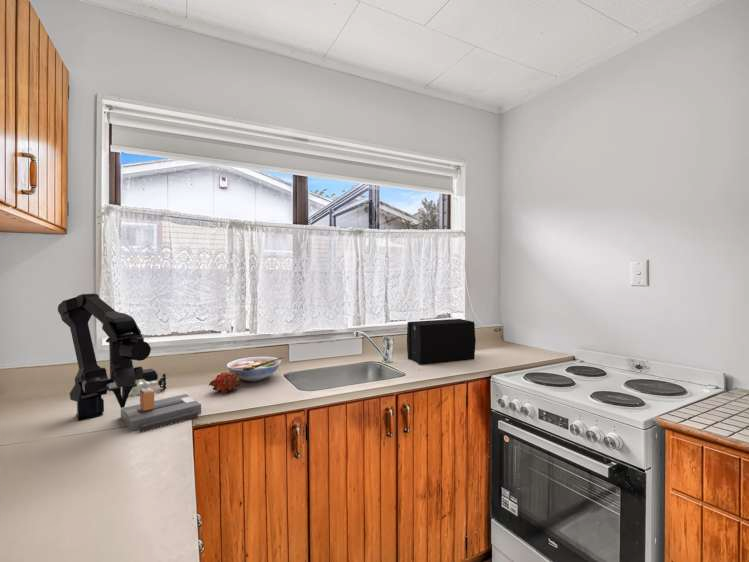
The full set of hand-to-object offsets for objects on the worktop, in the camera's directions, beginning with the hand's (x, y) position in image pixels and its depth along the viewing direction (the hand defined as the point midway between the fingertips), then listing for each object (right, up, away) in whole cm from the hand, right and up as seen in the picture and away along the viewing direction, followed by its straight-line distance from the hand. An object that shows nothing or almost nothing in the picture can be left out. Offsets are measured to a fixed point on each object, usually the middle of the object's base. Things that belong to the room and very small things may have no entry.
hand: (122, 407), depth 115 cm
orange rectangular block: (+5, -2, +5) cm, 7 cm away
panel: (+8, -5, +8) cm, 12 cm away
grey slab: (+8, -5, +8) cm, 12 cm away
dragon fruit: (+19, -5, +32) cm, 37 cm away
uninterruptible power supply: (+114, -3, +83) cm, 141 cm away
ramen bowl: (+25, -4, +48) cm, 55 cm away
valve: (-11, -5, +31) cm, 34 cm away
